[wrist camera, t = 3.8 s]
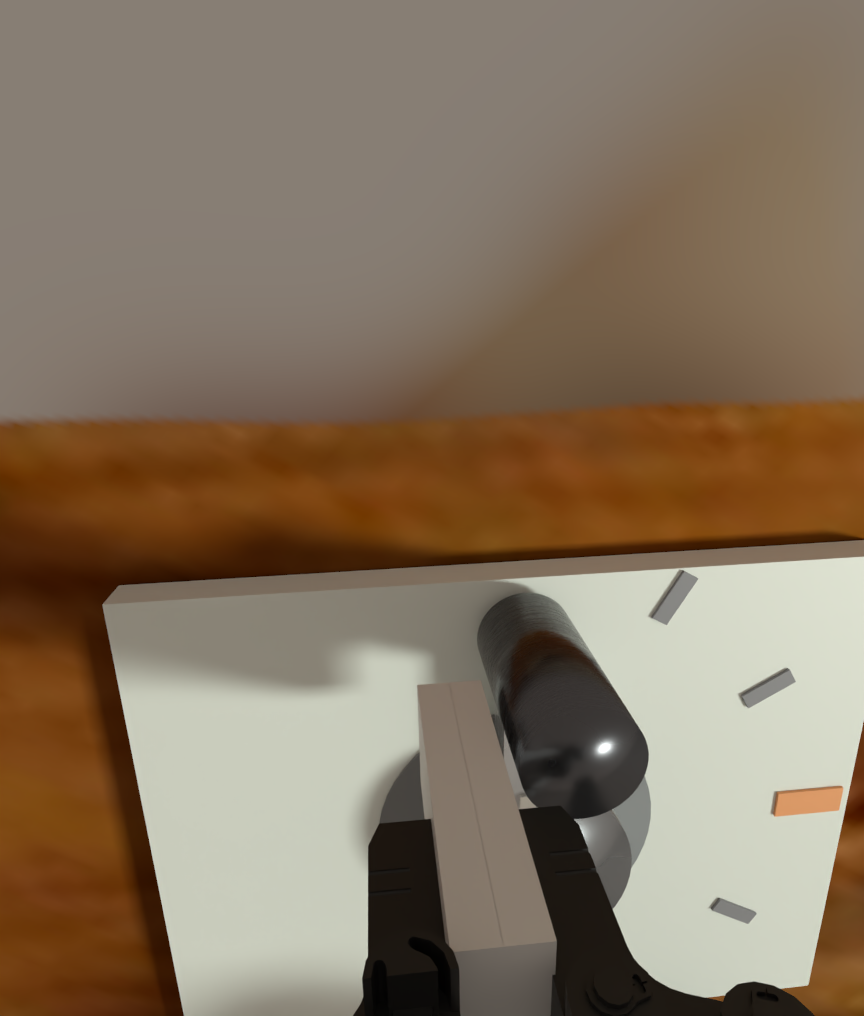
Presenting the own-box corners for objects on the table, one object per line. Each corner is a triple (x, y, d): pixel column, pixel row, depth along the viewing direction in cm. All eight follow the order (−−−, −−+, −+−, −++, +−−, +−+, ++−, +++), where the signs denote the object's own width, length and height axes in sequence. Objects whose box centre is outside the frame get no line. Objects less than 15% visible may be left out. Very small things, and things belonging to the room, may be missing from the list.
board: (200, 1022, 23) (191, 1062, 22) (118, 585, 18) (100, 606, 17) (787, 954, 25) (809, 987, 24) (867, 539, 20) (901, 555, 19)
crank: (606, 897, 21) (683, 1090, 16) (424, 916, 21) (443, 1121, 16) (629, 581, 18) (738, 696, 13) (411, 594, 17) (431, 721, 12)
